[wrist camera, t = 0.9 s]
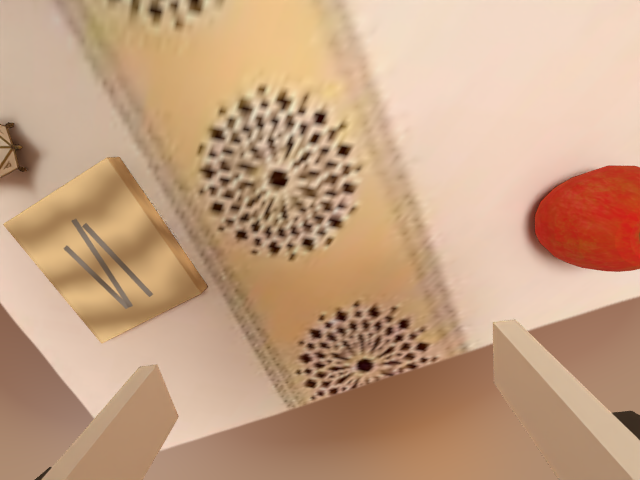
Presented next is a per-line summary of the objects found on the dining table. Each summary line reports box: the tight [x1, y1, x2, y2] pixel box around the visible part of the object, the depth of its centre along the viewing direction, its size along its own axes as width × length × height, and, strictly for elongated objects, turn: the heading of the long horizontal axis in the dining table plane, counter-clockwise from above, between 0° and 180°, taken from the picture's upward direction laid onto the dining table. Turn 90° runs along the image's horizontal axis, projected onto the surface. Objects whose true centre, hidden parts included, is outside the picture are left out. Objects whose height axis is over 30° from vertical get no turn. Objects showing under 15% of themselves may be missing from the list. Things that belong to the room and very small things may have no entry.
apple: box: [535, 166, 640, 272], centre depth 29 cm, size 10×10×10 cm
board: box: [3, 157, 208, 343], centre depth 37 cm, size 18×16×2 cm
